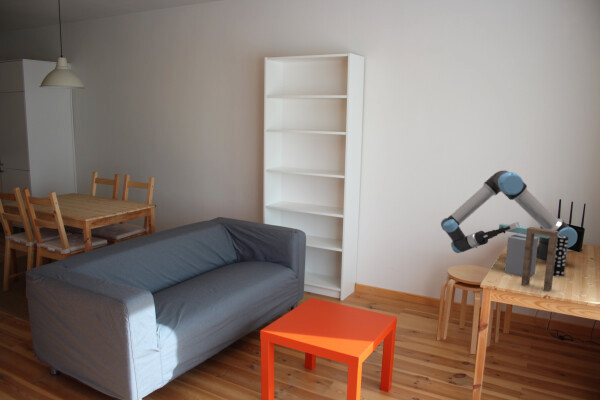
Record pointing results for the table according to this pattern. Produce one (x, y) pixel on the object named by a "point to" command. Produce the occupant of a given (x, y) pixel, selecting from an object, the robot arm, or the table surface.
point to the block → (518, 254)
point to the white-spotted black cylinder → (560, 255)
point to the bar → (521, 230)
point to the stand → (550, 256)
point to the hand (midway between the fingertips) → (517, 224)
